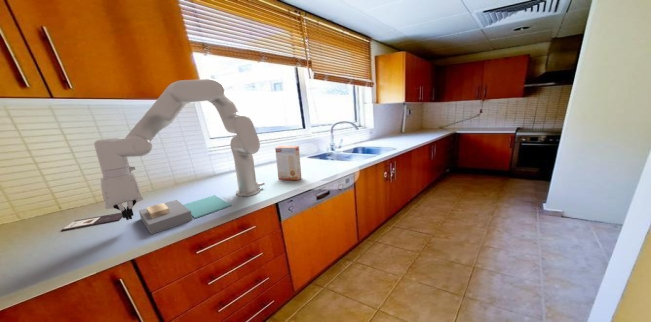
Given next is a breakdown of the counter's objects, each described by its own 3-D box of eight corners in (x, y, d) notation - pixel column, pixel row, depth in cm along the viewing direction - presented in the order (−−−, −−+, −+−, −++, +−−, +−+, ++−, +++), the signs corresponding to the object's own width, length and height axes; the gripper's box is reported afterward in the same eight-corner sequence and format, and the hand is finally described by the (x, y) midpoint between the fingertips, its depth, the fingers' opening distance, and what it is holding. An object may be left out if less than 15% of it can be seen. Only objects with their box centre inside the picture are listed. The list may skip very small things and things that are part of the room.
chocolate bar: (118, 219, 95) (61, 230, 88) (119, 221, 95) (61, 232, 88) (127, 211, 103) (75, 220, 96) (127, 213, 103) (75, 222, 96)
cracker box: (301, 178, 142) (299, 145, 137) (297, 180, 137) (294, 147, 132) (283, 176, 147) (280, 145, 142) (278, 179, 142) (274, 147, 137)
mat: (214, 196, 118) (214, 195, 118) (232, 205, 105) (231, 204, 104) (180, 206, 106) (180, 205, 106) (195, 218, 93) (194, 217, 93)
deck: (178, 207, 106) (176, 199, 105) (192, 219, 92) (190, 210, 92) (141, 218, 96) (138, 210, 95) (151, 234, 82) (148, 224, 82)
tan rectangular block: (164, 207, 97) (163, 202, 96) (170, 212, 91) (168, 208, 90) (147, 212, 93) (146, 207, 92) (152, 218, 87) (150, 213, 86)
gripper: (140, 166, 89) (150, 209, 93) (87, 175, 78) (101, 223, 82) (144, 169, 84) (155, 214, 88) (87, 179, 73) (102, 229, 77)
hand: (128, 218), depth 85 cm, fingers closed
